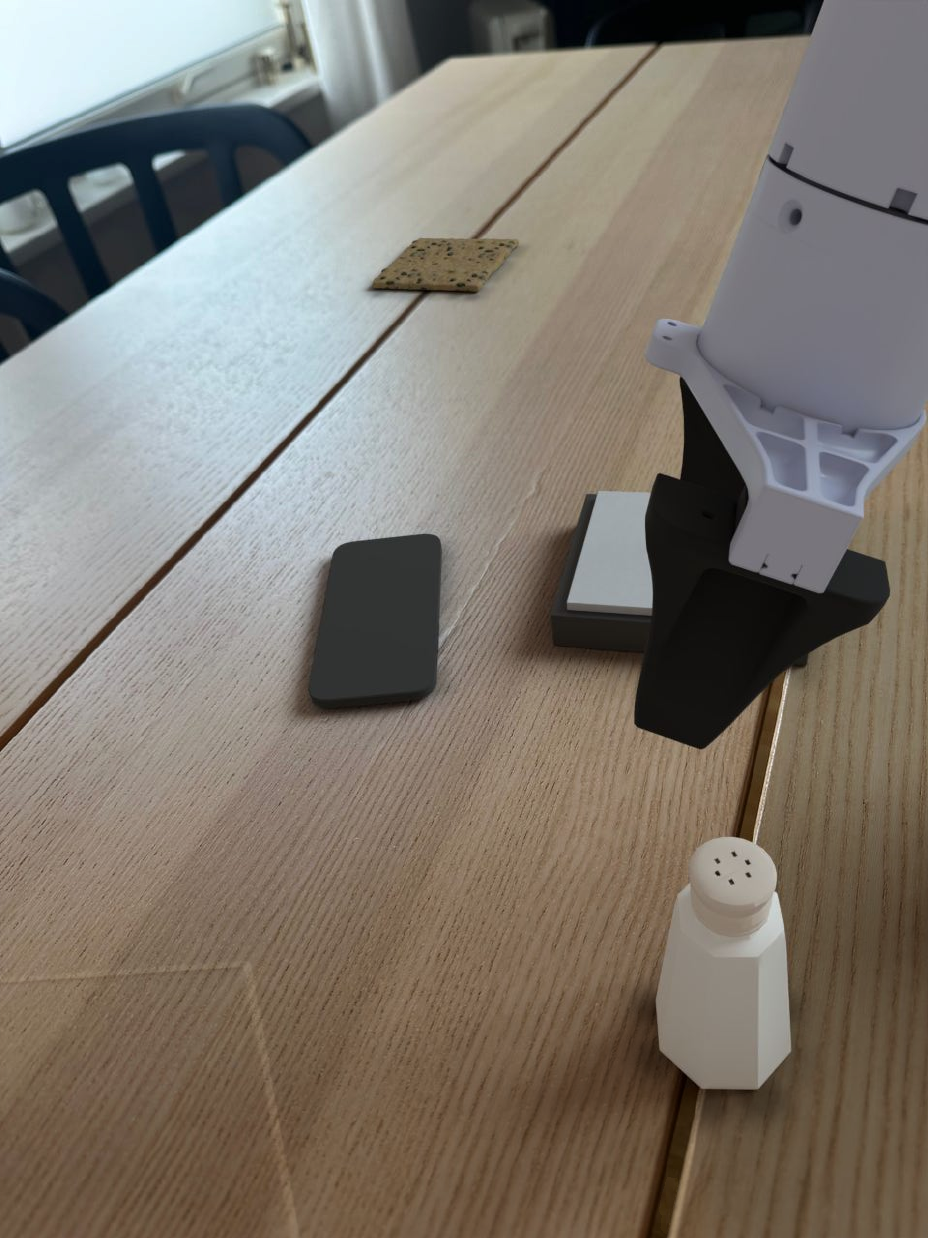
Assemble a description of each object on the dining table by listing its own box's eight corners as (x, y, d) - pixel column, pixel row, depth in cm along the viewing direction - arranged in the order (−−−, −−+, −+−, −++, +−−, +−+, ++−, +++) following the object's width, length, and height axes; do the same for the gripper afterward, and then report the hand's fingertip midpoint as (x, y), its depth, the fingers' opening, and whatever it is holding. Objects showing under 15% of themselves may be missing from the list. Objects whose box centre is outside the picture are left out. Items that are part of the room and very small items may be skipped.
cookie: (521, 242, 104) (520, 233, 103) (479, 292, 96) (478, 282, 95) (419, 241, 108) (417, 232, 107) (371, 288, 100) (369, 279, 99)
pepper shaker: (746, 945, 42) (762, 780, 34) (820, 1064, 38) (856, 906, 30) (629, 992, 41) (620, 833, 34) (693, 1119, 37) (698, 969, 30)
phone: (442, 530, 66) (435, 690, 54) (443, 540, 66) (437, 700, 55) (333, 542, 66) (304, 702, 55) (336, 552, 67) (308, 712, 55)
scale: (809, 532, 61) (814, 493, 60) (807, 666, 53) (812, 625, 51) (587, 522, 65) (585, 485, 63) (553, 645, 57) (549, 607, 55)
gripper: (731, 105, 28) (594, 505, 36) (694, 203, 17) (503, 762, 25) (973, 174, 28) (779, 566, 36) (1113, 328, 16) (777, 860, 24)
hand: (681, 652), depth 30 cm, fingers open, 7 cm apart
